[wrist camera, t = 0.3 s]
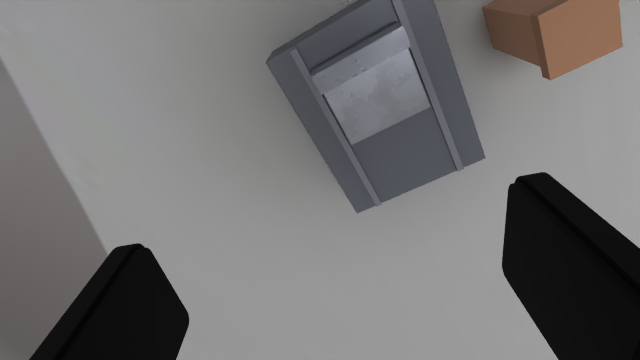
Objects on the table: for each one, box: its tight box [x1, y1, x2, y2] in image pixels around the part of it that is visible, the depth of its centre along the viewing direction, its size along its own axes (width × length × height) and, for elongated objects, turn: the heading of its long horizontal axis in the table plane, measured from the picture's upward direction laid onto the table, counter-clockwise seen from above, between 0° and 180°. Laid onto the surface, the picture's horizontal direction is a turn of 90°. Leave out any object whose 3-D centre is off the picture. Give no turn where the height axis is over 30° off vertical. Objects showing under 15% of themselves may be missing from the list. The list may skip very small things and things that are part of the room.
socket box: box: [266, 0, 485, 213], centre depth 33 cm, size 14×18×6 cm
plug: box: [483, 0, 622, 80], centre depth 27 cm, size 5×5×10 cm
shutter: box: [311, 21, 431, 145], centre depth 28 cm, size 8×8×3 cm
